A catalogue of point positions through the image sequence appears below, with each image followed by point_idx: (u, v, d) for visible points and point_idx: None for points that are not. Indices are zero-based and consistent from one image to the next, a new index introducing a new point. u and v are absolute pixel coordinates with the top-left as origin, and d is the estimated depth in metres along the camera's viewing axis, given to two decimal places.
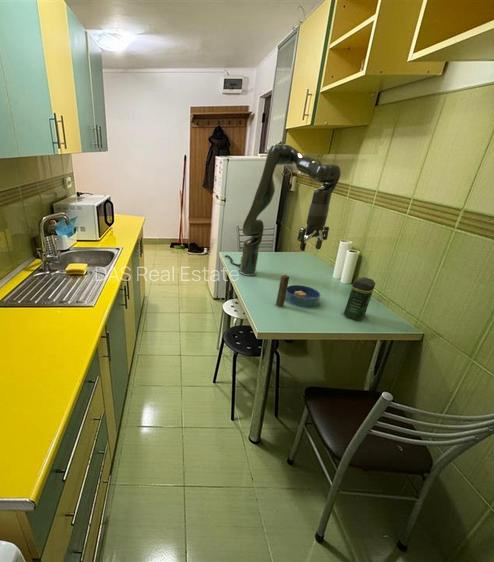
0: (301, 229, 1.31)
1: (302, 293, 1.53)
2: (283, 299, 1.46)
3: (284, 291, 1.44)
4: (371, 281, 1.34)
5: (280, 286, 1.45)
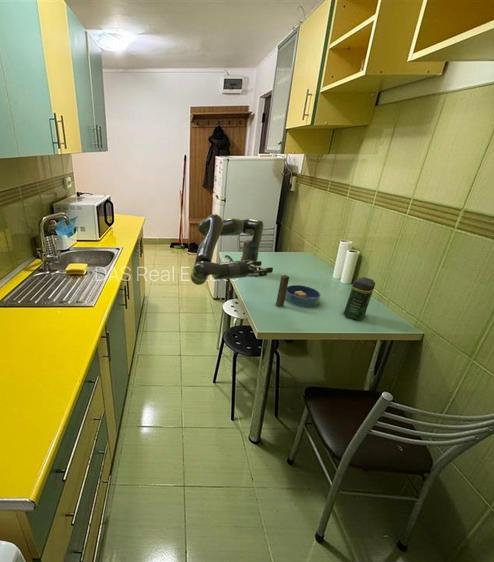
0: None
1: (302, 293, 1.53)
2: (283, 299, 1.46)
3: (284, 291, 1.44)
4: (371, 281, 1.34)
5: (280, 286, 1.45)
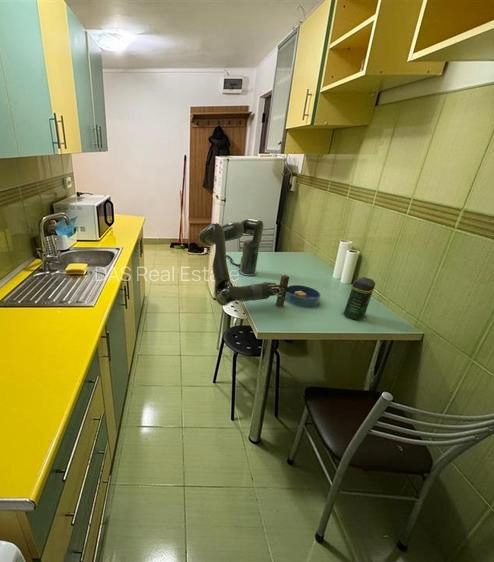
0: None
1: (302, 293, 1.53)
2: (283, 299, 1.46)
3: None
4: (371, 281, 1.34)
5: (280, 286, 1.45)
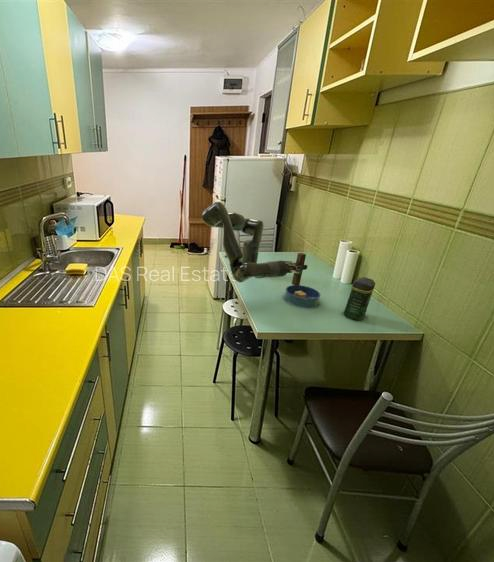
0: None
1: (302, 293, 1.53)
2: (299, 278, 1.47)
3: None
4: (371, 281, 1.34)
5: (296, 264, 1.45)
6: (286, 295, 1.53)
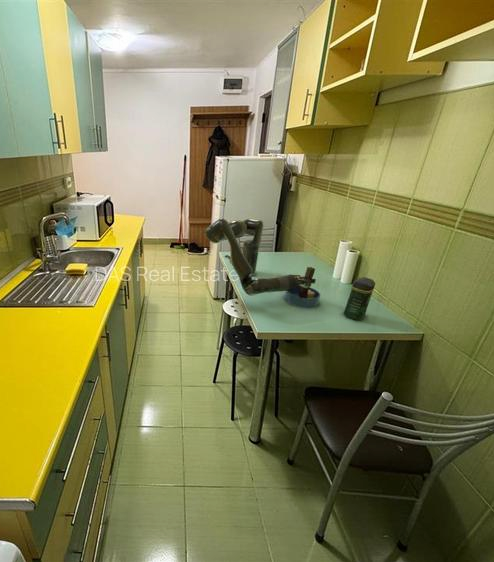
0: None
1: (310, 291, 1.54)
2: (306, 291, 1.52)
3: None
4: (371, 281, 1.34)
5: (305, 277, 1.50)
6: (286, 295, 1.53)
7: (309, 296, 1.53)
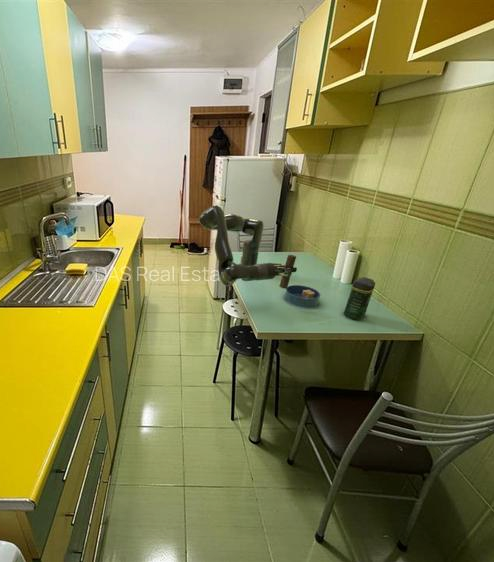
0: None
1: (310, 291, 1.54)
2: (287, 280, 1.43)
3: None
4: (371, 281, 1.34)
5: (286, 266, 1.41)
6: (286, 295, 1.53)
7: (309, 296, 1.53)
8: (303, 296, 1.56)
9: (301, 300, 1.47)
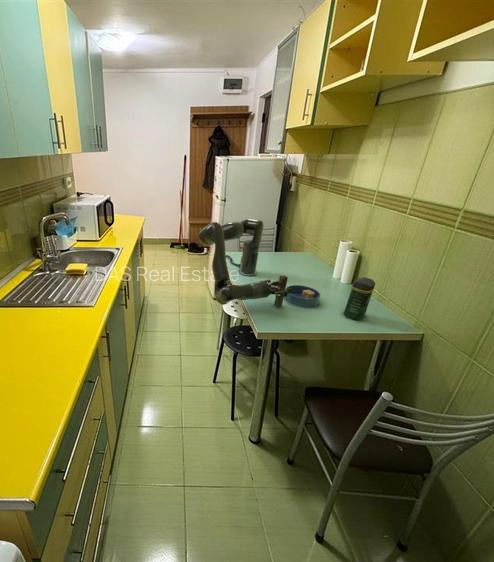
0: None
1: (310, 291, 1.54)
2: (281, 300, 1.46)
3: None
4: (371, 281, 1.34)
5: (278, 286, 1.44)
6: None
7: (309, 296, 1.53)
8: (303, 296, 1.56)
9: (301, 300, 1.47)
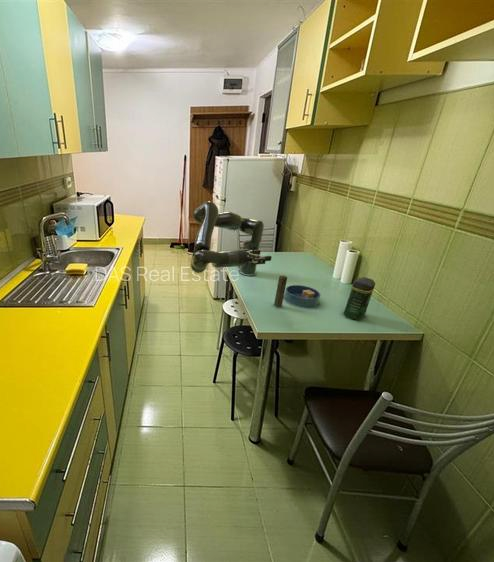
0: None
1: (310, 291, 1.54)
2: (281, 300, 1.46)
3: (282, 291, 1.44)
4: (371, 281, 1.34)
5: (278, 286, 1.44)
6: (286, 295, 1.53)
7: (309, 296, 1.53)
8: (303, 296, 1.56)
9: (301, 300, 1.47)
